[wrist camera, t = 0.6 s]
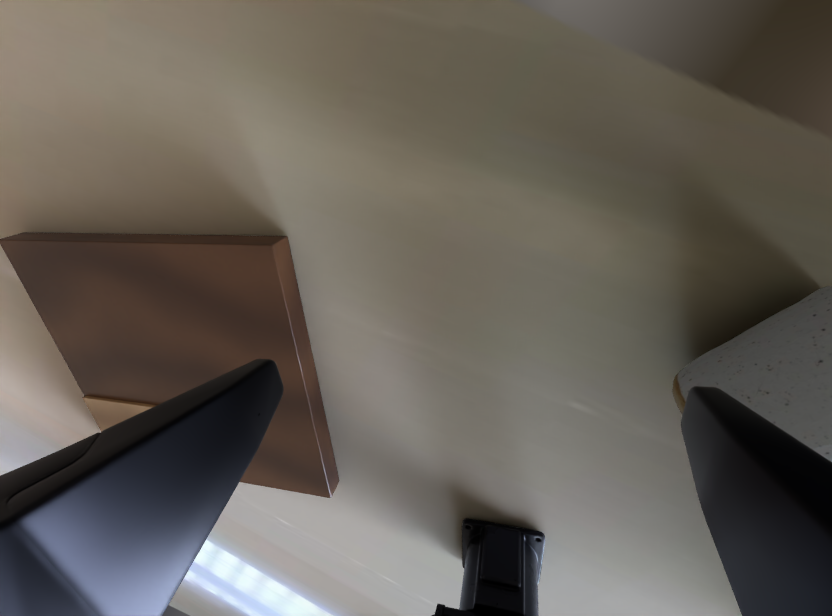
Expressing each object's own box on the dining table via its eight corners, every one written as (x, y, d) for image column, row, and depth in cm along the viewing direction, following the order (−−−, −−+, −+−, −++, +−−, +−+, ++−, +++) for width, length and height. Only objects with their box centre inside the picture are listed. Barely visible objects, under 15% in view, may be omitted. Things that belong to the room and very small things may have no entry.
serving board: (339, 480, 35) (329, 501, 33) (135, 446, 40) (117, 463, 38) (287, 235, 25) (269, 246, 23) (24, 232, 30) (-8, 240, 28)
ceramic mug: (643, 356, 23) (694, 463, 16) (798, 259, 19) (948, 350, 12) (761, 461, 25) (849, 598, 18) (926, 393, 20) (1120, 537, 14)
